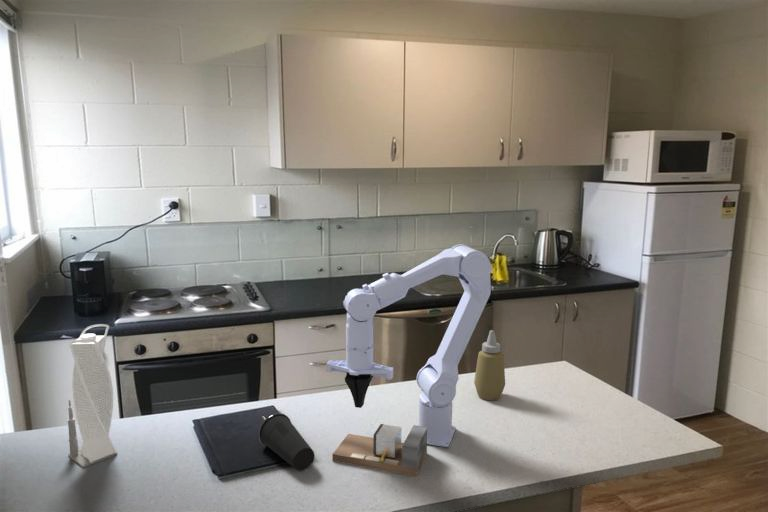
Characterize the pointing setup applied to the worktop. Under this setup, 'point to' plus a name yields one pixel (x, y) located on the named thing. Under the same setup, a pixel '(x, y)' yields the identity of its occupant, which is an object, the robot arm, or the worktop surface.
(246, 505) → the worktop surface
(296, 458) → the drinking cup
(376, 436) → the gauge carriage
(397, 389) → the worktop surface
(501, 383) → the squeeze bottle
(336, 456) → the gauge board
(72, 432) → the skyscraper
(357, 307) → the robot arm
